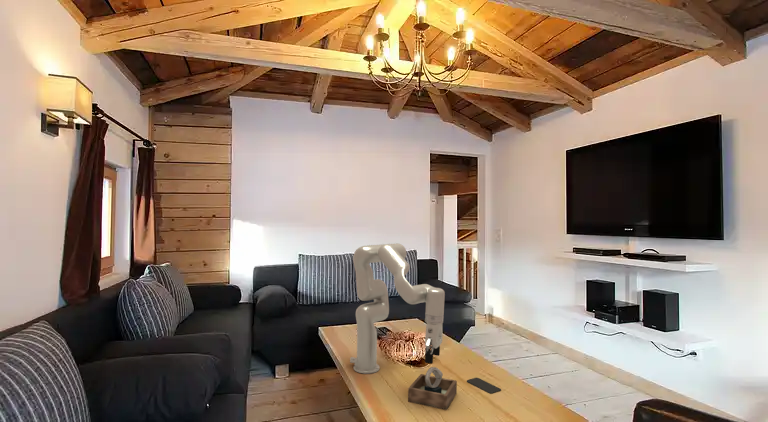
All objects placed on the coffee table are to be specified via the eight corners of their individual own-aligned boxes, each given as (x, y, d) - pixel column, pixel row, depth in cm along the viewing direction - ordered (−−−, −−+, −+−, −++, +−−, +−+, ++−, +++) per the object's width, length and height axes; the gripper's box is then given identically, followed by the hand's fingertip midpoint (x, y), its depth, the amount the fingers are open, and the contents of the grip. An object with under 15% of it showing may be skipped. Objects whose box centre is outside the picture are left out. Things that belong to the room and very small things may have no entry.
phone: (490, 393, 176) (465, 380, 189) (490, 395, 176) (465, 382, 189) (502, 389, 180) (477, 377, 193) (502, 391, 180) (477, 378, 193)
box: (408, 401, 168) (408, 388, 168) (420, 386, 183) (420, 373, 183) (446, 410, 162) (446, 396, 162) (456, 393, 176) (456, 380, 176)
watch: (444, 393, 174) (445, 367, 173) (431, 399, 168) (432, 372, 168) (434, 389, 178) (434, 363, 178) (421, 394, 172) (421, 368, 172)
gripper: (437, 325, 163) (434, 368, 163) (448, 314, 178) (446, 353, 179) (418, 322, 166) (416, 364, 166) (431, 311, 181) (429, 350, 182)
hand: (432, 358), depth 173 cm, fingers open, 9 cm apart
